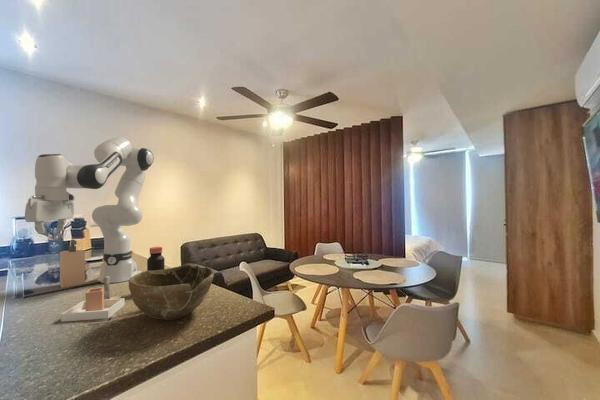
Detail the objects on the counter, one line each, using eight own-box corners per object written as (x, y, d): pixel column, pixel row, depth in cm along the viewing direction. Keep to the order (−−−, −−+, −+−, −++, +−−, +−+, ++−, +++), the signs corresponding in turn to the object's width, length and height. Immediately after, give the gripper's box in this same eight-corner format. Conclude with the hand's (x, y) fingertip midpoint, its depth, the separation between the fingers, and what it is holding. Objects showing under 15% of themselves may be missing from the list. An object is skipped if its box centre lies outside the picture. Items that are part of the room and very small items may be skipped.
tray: (83, 310, 100) (83, 300, 100) (124, 307, 103) (124, 298, 103) (60, 324, 88) (60, 314, 88) (108, 321, 91) (108, 310, 91)
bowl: (230, 310, 99) (230, 269, 99) (161, 343, 76) (161, 290, 76) (183, 297, 113) (182, 261, 113) (112, 322, 90) (112, 277, 90)
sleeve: (88, 311, 96) (88, 289, 96) (104, 309, 99) (104, 287, 99) (85, 316, 92) (85, 292, 92) (102, 313, 95) (102, 290, 95)
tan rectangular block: (59, 284, 132) (59, 239, 133) (82, 280, 139) (82, 238, 139) (62, 290, 124) (63, 242, 124) (86, 285, 130) (86, 240, 130)
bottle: (167, 290, 122) (167, 246, 123) (158, 295, 116) (158, 249, 116) (153, 289, 123) (153, 246, 123) (143, 295, 116) (143, 248, 117)
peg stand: (94, 301, 109) (94, 275, 109) (121, 297, 113) (121, 272, 113) (90, 309, 101) (90, 281, 101) (118, 304, 105) (118, 278, 105)
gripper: (39, 195, 92) (39, 235, 92) (77, 196, 112) (77, 229, 112) (18, 195, 91) (18, 236, 91) (60, 196, 111) (60, 229, 111)
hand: (51, 232), depth 102 cm, fingers open, 8 cm apart
